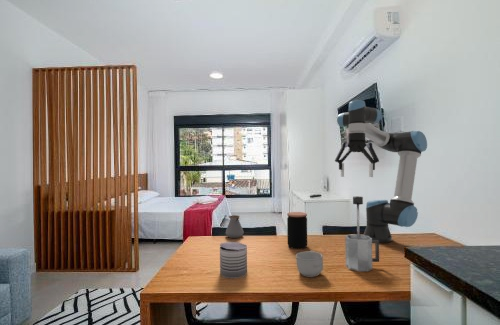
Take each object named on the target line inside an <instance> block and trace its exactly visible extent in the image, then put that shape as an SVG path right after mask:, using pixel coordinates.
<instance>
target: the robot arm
mask: <svg viewBox="0 0 500 325" xmlns="http://www.w3.org/2000/svg"><path fill="white" fill-rule="evenodd" d="M381 119H382V112H381V110H379V109H377V108H375V107H369V106H366V101H365V100H363V99H362V100H360V99H356V100H352V101H350V102H349V103H348V109H347V112H346V111H345V112H342V113H339V114H338V116H337V117H336V123H337V125H338V126H339V127H340V128H341V127H342V128H346V127H347V128H348V143H346V142H342V143H341V146H340V149H339V152H338V153H337V154H336V155H337V156H336V158H335V160H334V162H336V163H338V171H339V170H340V177H342V178H344V177H345V163H344V161H345V160H346V159H347V158H348V157H349V155H350V154H351V153H362V154H363V155H364V156H365V157H366V159H367V160H368V161H369V164H368V166H369V167H368V169H369V170H368V173H369V175H368V177H369V178H374V171H375V169H376V163H379V162H380V159H379V157H378V156H377V154H376V151H375V150H374V148H373V143H372V142H374V144H375V146H377V147H378V148H380V149H383V150H384V151H388V152H391V153H397V155H398V156H399V161H398V162H399V163H398V167H397V168H398V169H397V175H396V181H395V187H394V188H395V189H394V194H393V197H392V198H390V201H388V199H377V200H376V199H375V200H374V199H373V200H368V201H367V202H366V206H365V207H366V208H365V209H366V210H365V212H366V215H365V216H366V225H365V226H366V227H365V229H364V233H363V235H366V236H369V237H371V238H372V240H378V241H379V244H380V243H381V244H385V243H391V242H392V241H393V237H392V234H391V232H390V229H389V225H394V226H398V227H406V228H410V227H412V226H413V225H414V224H415V223H416V221H417V220H418V214H419V212H418V208H417V207H416V206H415V202H414V201H413V200H412V197H413V192H414V191H413V190H414V185H415V184H414V183H415V178H416V177H415V176H416V171H417V163H418V158H420V157H421V156H422V152H425V151H426V150H427V148H428V140H427V137H426V135H425V133H423V132H422V131H420V130H415V131H414V130H411V131H403V132H388V131H384V130H381V129H379V128H378V127H377V126H374V124H377V123H379V122H380V121H381ZM366 138H367V139H368V140H369V141H372V142H368V143H366ZM347 147H348V149H347V151H346V152H345V153H344V151H345V150H346V148H347ZM366 148H367V149H368V151H367V149H366ZM343 153H344V154H343Z"/></svg>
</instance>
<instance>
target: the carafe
mask: <svg viewBox="0 0 500 325" xmlns="http://www.w3.org/2000/svg"><path fill="white" fill-rule="evenodd" d="M344 238H345V243H344V244H345V246H344V247H345V267H346V268H347V269H348V270H351V271H353V272H354V271H355V272H361V273H363V272H364V273H365V272H368V273H369V272H370V271H372V270H373V263H379V262H380V243H379V241H378V240H372V238H371V237H369V236H366V235H364V234H360V239H364V240H355V239H353V238H357V233H356V234H355V233H353V234H347V235H345V236H344ZM373 244H374V249H375V250H374V252H375V254H374V256H375V257H374V258H373Z"/></svg>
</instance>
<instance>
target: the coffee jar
mask: <svg viewBox="0 0 500 325" xmlns="http://www.w3.org/2000/svg"><path fill="white" fill-rule="evenodd" d="M286 215H287V218H286V223H287V224H286V225H287V226H286V227H287V245H288V247H289V248H290V249H292V250H293V249H295V250H304V249H305V248H307V247H308V217H307V215H308V213H307V212H301V211H291V212H288V213H287V214H286Z"/></svg>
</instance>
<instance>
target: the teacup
mask: <svg viewBox="0 0 500 325" xmlns="http://www.w3.org/2000/svg"><path fill="white" fill-rule="evenodd" d="M295 257H296V258H295V259H296V260H295V261H296V268H297V271H298V272H299V273H300V274H301V275H302V276H304V277H307V278H315V277H317V276H319V275H320V274H321V273H322V272H323V269H324V258H323V254H322V253H320V252H317V251H314V250H310V251H309V250H307V251H300V252H297V253H296V254H295Z"/></svg>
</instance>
